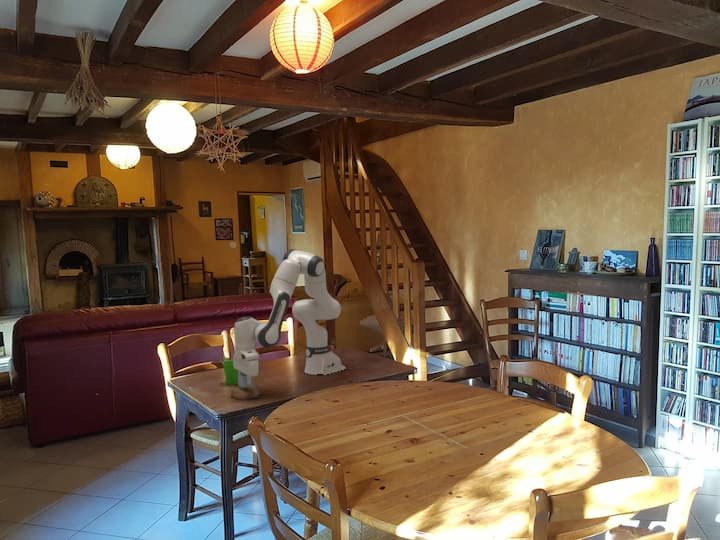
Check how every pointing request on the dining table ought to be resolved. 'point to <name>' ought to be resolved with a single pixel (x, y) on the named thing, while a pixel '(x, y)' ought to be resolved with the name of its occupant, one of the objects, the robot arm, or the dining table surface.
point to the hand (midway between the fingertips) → (245, 381)
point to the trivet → (245, 392)
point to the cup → (230, 372)
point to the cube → (244, 381)
